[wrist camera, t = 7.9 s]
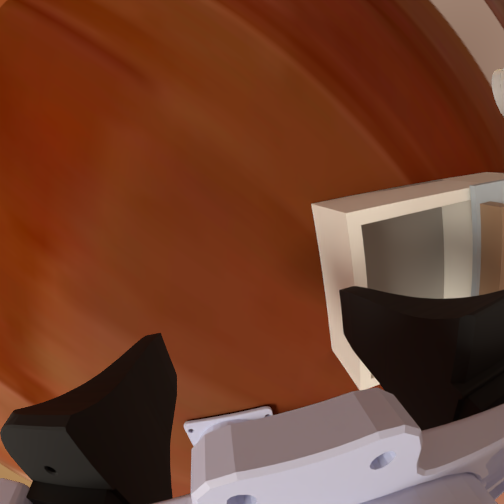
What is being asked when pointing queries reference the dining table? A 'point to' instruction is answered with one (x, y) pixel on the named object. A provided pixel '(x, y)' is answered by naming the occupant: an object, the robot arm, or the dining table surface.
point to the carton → (396, 248)
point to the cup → (498, 88)
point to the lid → (487, 237)
